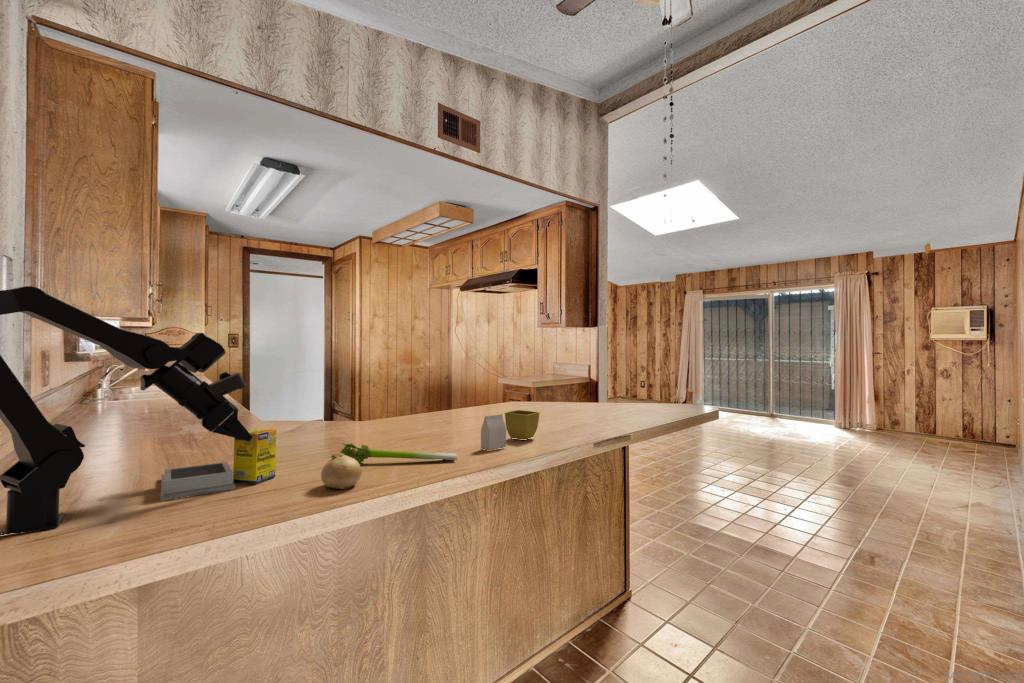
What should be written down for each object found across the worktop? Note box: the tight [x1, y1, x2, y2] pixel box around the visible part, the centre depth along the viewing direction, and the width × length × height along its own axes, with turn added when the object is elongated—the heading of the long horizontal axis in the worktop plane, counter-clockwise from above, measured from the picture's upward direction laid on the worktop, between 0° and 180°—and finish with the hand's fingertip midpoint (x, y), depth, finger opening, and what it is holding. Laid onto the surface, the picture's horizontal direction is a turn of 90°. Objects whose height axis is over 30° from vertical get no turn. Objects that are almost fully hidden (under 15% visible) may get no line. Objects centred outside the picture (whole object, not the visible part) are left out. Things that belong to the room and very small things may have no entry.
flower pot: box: [504, 409, 541, 439], centre depth 144 cm, size 9×9×9 cm
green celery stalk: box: [339, 442, 458, 465], centre depth 113 cm, size 6×7×30 cm
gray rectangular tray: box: [160, 461, 236, 502], centre depth 93 cm, size 18×12×4 cm, turn 38°
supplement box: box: [232, 428, 277, 485], centre depth 97 cm, size 6×6×11 cm
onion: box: [320, 452, 363, 490], centre depth 93 cm, size 8×8×7 cm
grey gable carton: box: [480, 413, 507, 451], centre depth 130 cm, size 4×7×10 cm, turn 135°
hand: (247, 436), depth 96 cm, fingers open, 9 cm apart
